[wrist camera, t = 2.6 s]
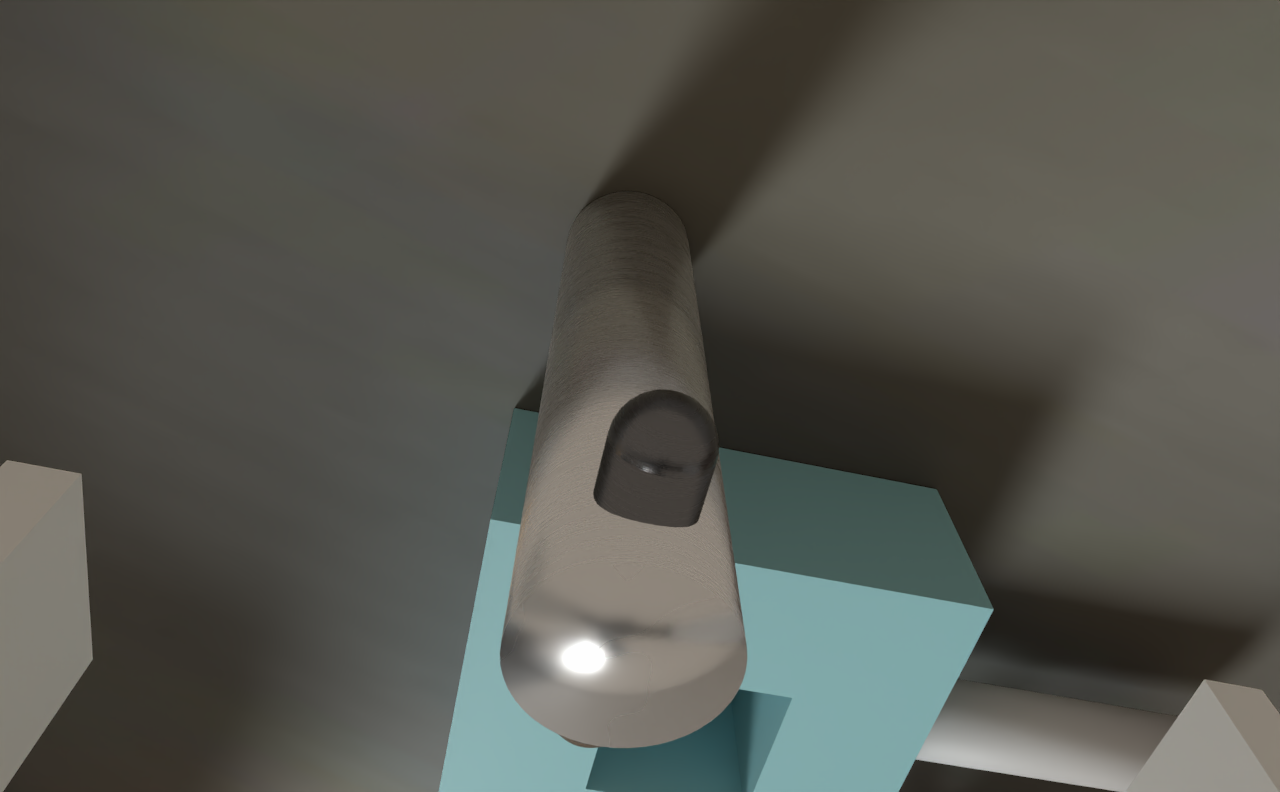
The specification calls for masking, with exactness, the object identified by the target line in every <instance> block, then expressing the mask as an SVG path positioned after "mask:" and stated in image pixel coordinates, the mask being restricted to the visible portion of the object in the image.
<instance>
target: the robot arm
mask: <svg viewBox="0 0 1280 792" xmlns="http://www.w3.org/2000/svg"><path fill="white" fill-rule="evenodd" d="M92 660H93V654H92V637H91V621H90V604H89V588H88V571H87V555H86V538H85V522H84V505H83V489H82V474H81V473H75V472H70V471H64V470H59V469H53V468H48V467H42V466H37V465H31V464H26V463H20V462H15V461H10V460H7V461H6V462H5V463H3V464H2V465H1V466H0V792H3V791H4V790H5V788H6V787H7V785H8V784H9V782H10V781H11V779H12V778H13V776H14V775H15V773H16V772H17V770H18V769H19V767H20V766H21V764H22V763H23V761H24V760H25V759H26V757H27V756H28V754H29V753H30V751H31V750H32V748H33V747H34V745H35V744H36V742H37V741H38V739H39V738H40V736H41V735H42V733H43V732H44V731H45V729H46V728H47V726H48V725H49V723H50V722H51V720H52V719H53V717H54V716H55V714H56V713H57V711H58V710H59V708H60V707H61V705H62V704H63V703H64V701H65V700H66V698H67V697H68V695H69V694H70V692H71V691H72V689H73V688H74V686H75V685H76V683H77V682H78V680H79V679H80V677H81V676H82V674H83V673H84V672H85V670H86V669H87V667H88V666H89V664H90V663H91V661H92ZM1126 792H1280V714H1279V713H1278V711H1277V710H1276V709H1275V707H1274V706H1273V704H1272V703H1271V702H1270V700H1269V699H1268V698H1267V696H1266V695H1265V693H1264V692H1263V691H1262V690H1260V689H1255V688H1249V687H1244V686H1238V685H1233V684H1227V683H1222V682H1216V681H1211V680H1206V679H1204V680H1203V682H1202V683H1201V685H1200V686H1199V688H1198V689H1197V690H1196V692H1195V693H1194V695H1193V696H1192V698H1191V699H1190V700H1189V702H1188V703H1187V705H1186V706H1185V708H1184V709H1183V710H1182V712H1181V713H1180V715H1179V716H1178V718H1177V719H1176V720H1175V722H1174V723H1173V725H1172V726H1171V728H1170V729H1169V730H1168V732H1167V733H1166V735H1165V736H1164V738H1163V739H1162V740H1161V742H1160V743H1159V745H1158V746H1157V748H1156V749H1155V750H1154V752H1153V753H1152V755H1151V756H1150V758H1149V759H1148V760H1147V762H1146V763H1145V765H1144V766H1143V768H1142V769H1141V770H1140V772H1139V773H1138V775H1137V776H1136V778H1135V779H1134V780H1133V782H1132V783H1131V785H1130V786H1129V788H1128V789H1127V790H1126Z"/></svg>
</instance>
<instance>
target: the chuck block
mask: <svg viewBox="0 0 1280 792" xmlns="http://www.w3.org/2000/svg"><path fill="white" fill-rule="evenodd" d="M538 416H539V413H538V412H533V411H527V410H522V409H517V408H514V411H513V416H512V421H511V426H510V430H509V435H508V440H507V444H506V449H505V454H504V459H503V463H502V468H501V473H500V477H499V482H498V487H497V492H496V496H495V501H494V506H493V510H492V515H491V520H490V525H489V530H488V536H487V541H486V546H485V551H484V557H483V562H482V567H481V572H480V578H479V583H478V588H477V593H476V599H475V604H474V609H473V614H472V620H471V625H470V630H469V635H468V641H467V646H466V651H465V656H464V662H463V667H462V672H461V677H460V683H459V688H458V693H457V698H456V704H455V709H454V714H453V719H452V725H451V730H450V735H449V740H448V746H447V751H446V756H445V761H444V767H443V772H442V777H441V782H440V788H439V792H899V790H900V788H901V786H902V784H903V782H904V780H905V778H906V776H907V775H908V773H909V771H910V769H911V767H912V765H913V763H914V761H915V759H916V760H922V761H929V762H935V763H941V764H947V765H954V766H960V767H966V768H973V769H979V770H985V771H992V772H998V773H1004V774H1010V775H1017V776H1023V777H1029V778H1036V779H1042V780H1048V781H1054V782H1061V783H1067V784H1073V785H1080V786H1086V787H1092V788H1099V789H1105V790H1111V791H1117V792H1126V790H1127V789H1128V788H1129V786H1130V785H1131V783H1132V782H1133V780H1134V779H1135V778H1136V776H1137V775H1138V773H1139V772H1140V770H1141V769H1142V768H1143V766H1144V765H1145V763H1146V762H1147V760H1148V759H1149V758H1150V756H1151V755H1152V753H1153V752H1154V750H1155V749H1156V748H1157V746H1158V745H1159V743H1160V742H1161V740H1162V739H1163V738H1164V736H1165V735H1166V733H1167V732H1168V730H1169V729H1170V728H1171V726H1172V725H1173V723H1174V722H1175V720H1176V719H1177V718H1178V716H1173V715H1167V714H1162V713H1156V712H1150V711H1144V710H1138V709H1132V708H1126V707H1120V706H1114V705H1109V704H1103V703H1097V702H1091V701H1085V700H1079V699H1073V698H1067V697H1061V696H1055V695H1050V694H1044V693H1038V692H1032V691H1026V690H1020V689H1014V688H1008V687H1002V686H996V685H991V684H985V683H979V682H973V681H967V680H961V679H958V677H959V675H960V673H961V671H962V669H963V667H964V665H965V664H966V662H967V660H968V658H969V656H970V654H971V652H972V650H973V648H974V646H975V644H976V642H977V641H978V639H979V637H980V635H981V633H982V631H983V629H984V627H985V625H986V623H987V621H988V620H989V618H990V616H991V614H992V612H993V610H994V609H993V607H992V604H991V602H990V600H989V598H988V596H987V594H986V592H985V590H984V588H983V586H982V583H981V581H980V579H979V577H978V575H977V573H976V571H975V569H974V567H973V564H972V562H971V560H970V558H969V556H968V554H967V552H966V550H965V548H964V546H963V543H962V541H961V539H960V537H959V535H958V533H957V531H956V529H955V527H954V524H953V522H952V520H951V518H950V516H949V514H948V512H947V510H946V508H945V506H944V503H943V501H942V499H941V497H940V495H939V493H938V491H937V489H933V488H927V487H922V486H917V485H912V484H907V483H902V482H896V481H891V480H886V479H881V478H876V477H870V476H865V475H860V474H855V473H850V472H844V471H839V470H834V469H829V468H824V467H818V466H813V465H808V464H803V463H798V462H792V461H787V460H782V459H777V458H772V457H766V456H761V455H756V454H751V453H746V452H740V451H735V450H730V449H725V448H720V447H719V457H720V464H721V471H722V478H723V485H724V492H725V498H726V505H727V512H728V519H729V526H730V533H731V540H732V547H733V554H734V561H735V568H736V575H737V582H738V589H739V596H740V603H741V610H742V616H743V623H744V630H745V637H746V644H747V666H746V672H745V675H744V679H743V682H742V684H741V686H740V688H739V690H738V692H737V694H736V695H735V697H734V698H733V700H732V701H731V703H730V704H729V705H728V706H727V707H726V708H725V709H724V710H723V711H722V713H720V714H719V715H718V716H717V717H716V718H714V719H713V720H712V721H711V722H709V723H708V724H706V725H705V726H703V727H702V728H700V729H698V730H696V731H694V732H692V733H690V734H689V735H686V736H684V737H681V738H679V739H676V740H673V741H670V742H666V743H662V744H658V745H653V746H647V747H637V748H610V747H598V748H583V747H579V746H576V745H573V744H571V743H569V742H567V741H566V740H564V739H563V738H562V737H561V736H559V735H558V734H557V733H555V732H553V731H551V730H549V729H548V728H546V727H544V726H542V725H541V724H540V723H538V722H537V721H535V720H534V719H533V718H532V717H530V716H529V715H528V714H527V713H526V712H525V711H524V710H523V709H522V708H521V707H520V706H519V704H518V703H517V702H516V701H515V700H514V698H513V696H512V695H511V693H510V691H509V690H508V688H507V685H506V683H505V681H504V678H503V675H502V670H501V666H500V647H501V640H502V634H503V628H504V622H505V616H506V609H507V603H508V597H509V591H510V585H511V579H512V573H513V567H514V561H515V555H516V549H517V543H518V537H519V531H520V525H521V519H522V513H523V507H524V501H525V494H526V488H527V482H528V476H529V470H530V464H531V458H532V452H533V446H534V440H535V434H536V428H537V422H538Z"/></svg>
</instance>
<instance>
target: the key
mask: <svg viewBox="0 0 1280 792" xmlns="http://www.w3.org/2000/svg"><path fill="white" fill-rule="evenodd" d="M500 666H501V670H502V675H503V678H504V681H505V683H506V685H507V688H508V690H509V691H510V693H511V695H512V696H513V698H514V700H515V701H516V702H517V703H518V704H519V706H520V707H521V708H522V709H523V710H524V711H525V712H526V713H527V714H528V715H529V716H530V717H532V718H533V719H534V720H535V721H537V722H538V723H540V724H541V725H542V726H544V727H546V728H548V729H549V730H551V731H553V732H555V733H557V734H558V735H559V736H561V737H562V738H563V739H564V740H566V741H567V742H569V743H571V744H573V745H576V746H579V747H583V748H598V747H610V748H637V747H647V746H653V745H658V744H662V743H666V742H670V741H673V740H676V739H679V738H681V737H684V736H686V735H689V734H690V733H692V732H694V731H696V730H698V729H700V728H702V727H703V726H705V725H706V724H708V723H709V722H711V721H712V720H713V719H714V718H716V717H717V716H718V715H719V714H720V713H722V711H723V710H724V709H725V708H726V707H727V706H728V705H729V704H730V703H731V701H732V700H733V698H734V697H735V695H736V694H737V692H738V690H739V688H740V686H741V684H742V682H743V679H744V675H745V672H746V666H747V644H746V637H745V630H744V623H743V616H742V610H741V603H740V596H739V589H738V582H737V575H736V568H735V561H734V554H733V547H732V540H731V533H730V526H729V519H728V512H727V505H726V498H725V492H724V485H723V478H722V471H721V464H720V457H719V437H718V433H717V429H716V426H715V422H714V415H713V408H712V401H711V394H710V387H709V381H708V374H707V367H706V360H705V353H704V346H703V339H702V332H701V325H700V318H699V311H698V304H697V297H696V290H695V283H694V276H693V269H692V263H691V256H690V249H689V242H688V237H687V233H686V230H685V228H684V225H683V223H682V222H681V220H680V218H679V217H678V216H677V214H676V213H675V212H674V211H673V210H672V209H671V208H670V207H669V206H668V205H667V204H665V203H664V202H662V201H661V200H659V199H657V198H655V197H653V196H651V195H648V194H645V193H641V192H634V191H622V192H615V193H611V194H607V195H605V196H602V197H600V198H598V199H596V200H594V201H593V202H592V203H590V204H589V205H587V206H586V207H585V208H584V209H583V210H582V211H581V212H580V214H579V215H578V216H577V218H576V219H575V221H574V223H573V225H572V227H571V229H570V232H569V236H568V240H567V246H566V252H565V258H564V264H563V270H562V277H561V283H560V289H559V295H558V301H557V307H556V313H555V319H554V325H553V331H552V337H551V343H550V349H549V355H548V361H547V367H546V373H545V379H544V386H543V392H542V398H541V404H540V410H539V416H538V422H537V428H536V434H535V440H534V446H533V452H532V458H531V464H530V470H529V476H528V482H527V488H526V494H525V501H524V507H523V513H522V519H521V525H520V531H519V537H518V543H517V549H516V555H515V561H514V567H513V573H512V579H511V585H510V591H509V597H508V603H507V609H506V616H505V622H504V628H503V634H502V640H501V647H500Z"/></svg>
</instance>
